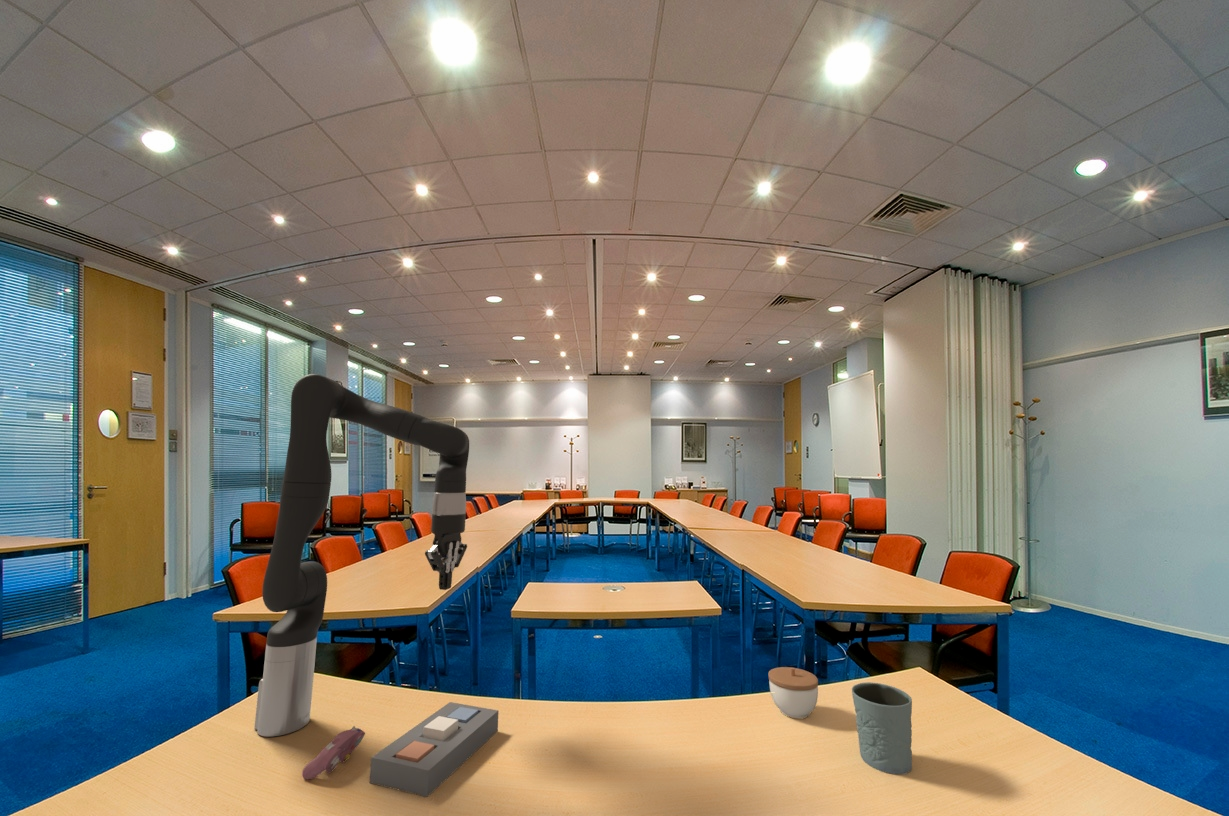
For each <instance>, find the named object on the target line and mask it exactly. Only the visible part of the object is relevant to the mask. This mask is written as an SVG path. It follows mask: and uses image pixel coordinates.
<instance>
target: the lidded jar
mask: <svg viewBox="0 0 1229 816" xmlns="http://www.w3.org/2000/svg"><path fill="white" fill-rule="evenodd" d="M768 680H769V681H768V683H769V692H770V696H771V698H772V700H773V703H774V705H776V707H777V708H778V709H779V712H780V713H781V712H782V713H783V714H782V713H781V714H782V715H784V716H786V715H787V716H786V717H788V716H790V717H789V718H791V717H793V718H792V719H796V718H803V719H806V718H808V717H809V716H810V714H812V712H813V711H814V709H815V708H816V706H817V703H818V698H819V697H818V696H819V679H818V678H817V676H816V675H815V674H813V673H812V672H809V671H807V670H804V669H801V668H796V667H792V666H791V667H788V666H781V667H775V668H772V669H770V670H769V671H768ZM771 692H775V693H771ZM808 715H809V716H808ZM807 716H808V717H807ZM805 717H806V718H805Z"/></svg>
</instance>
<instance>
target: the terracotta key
mask: <svg viewBox="0 0 1229 816" xmlns="http://www.w3.org/2000/svg"><path fill="white" fill-rule="evenodd" d="M433 750H434V745H432V744H427V743H422V742H417V741H413V742H412V743H410V744H409V745H408V746H406V747H405V748H404V749H402V750H401V751H399V752H398V753H397V754H396V758H399V759H403V760H408V761H412V762H417V763H418V762H419V761H420V760H422V759H423V758H424V757H425V756H427V755H428V754H429V753H430V752H431V751H433Z"/></svg>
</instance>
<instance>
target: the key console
mask: <svg viewBox="0 0 1229 816" xmlns="http://www.w3.org/2000/svg"><path fill="white" fill-rule="evenodd" d="M459 707H464V708H470V709H476V710H478V714H477V715H476V716H475V717H473V718H472V719H471V720H470V721H469V722H467V723H461V722H458V730H457V731H456V732H455V733H454V734H452V735H451V736H450V737H449V738H448V739H446V740H445V741H444V742H443V741H438V740H433V739H428V738H424V737H423V728H424V726H426V725H427V724H429V723H430V722H431V721H433V720H434V719H436V718H437V717H438V716H441V717H447V716H448V715H450V714H451V713H452V712H454V711H455V710H456V709H458V708H459ZM498 731H499V709H492V708H486V707H481V706H475V705H469V704H463V703H458V702H452V701H449V702H448V703H447V704H445V705H444V706H442V707H441V708H440V709H438V710H437V711H435V712H434V713H432V714H431V715H429V716H428V717H426V718H425V719H424V720H422V721H421V722H419V723H418V724H417V725H415V726H413V727H412V728H411V729H410V730H408V731H407V732H405V733H404V734H401V736H399V737H398V738H397V739H394V741H392V742H390V744H388V745H387V746H386V747H384V748H383V749H381V750H379V751H378V752H377V753H375V754H374V755H373V756H371V757H370V770H369V783H370V784H374V785H378V786H381V787H385V788H389V787H391V788H390V789H393V788H394V790H397V789H399V790H398V791H401V792H406V793H409V794H414V795H418V796H422V797H424V798H428V797H429V796H430V795H431V794H432V793H433V792H434V791H435V790H436V789H438V787H439V786H440V785H442V784H443V783H444V782H445V781H446V780H447V779H449V777H451V775H452V774H453V773H455V772H456V770H458V769H459V768H460V767H461V766H462V765H463V764H464V763H465V762H466V761H467V760H468V759H470V758H471V757H472V755H474V754H475V753H476V752H477V751H478V750H479V749H480V748H481V747H482V746H484V744H486V742H488V741H489V740H490V739H491V738H492V737H493V736H495V734H496V733H498ZM413 741H417V742H422V743H427V744H432V745H434V750H433V751H431V752H430V753H429V754H428V755H427V756H425V757H424V758H423V759H422V760H420V761H419V762H418V763H417V762H412V761H408V760H403V759H399V758H396V754H397V753H398V752H399V751H401V750H402V749H404V748H405V747H406V746H408V745H409V744H410V743H412V742H413Z"/></svg>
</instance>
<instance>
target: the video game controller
mask: <svg viewBox="0 0 1229 816" xmlns="http://www.w3.org/2000/svg"><path fill="white" fill-rule="evenodd" d="M365 735H366V732H365V731H364V730H362V729H361V728H359V727H356V726H355V725H353V726H352V728H349V729H346V730H343V731H341V732H339V733H337V734H336V735H335V736H334V737H333V740H332V741H330V742H329V743H328V744H327V745H326V746H325V747H324V748H323V749H321V751H320V752H319V753H318V755H317V756H315V758H314V759H312V760H310V761H309V762H308V763H307V764H306V765H304V768H303V769H302V773H301V774H302V775H301V776H302V778H303V779H304V780H312V779H314V778H317V777H318V776H319V775H321V774H322V773H323V772H326V773H328V774H330V773H332V772H333V771H334V770H335V769H336V767H337V766H338V764H339V762H340V763H342V764H343V763H344V762H346V761H347V760H348V759H350V757H351V754H352V753H353V752H354V751H355V749H356V748H357V747H358V746H359V745H360V744H361V742H362V741H363V739H364V737H365ZM332 770H333V771H332Z"/></svg>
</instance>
